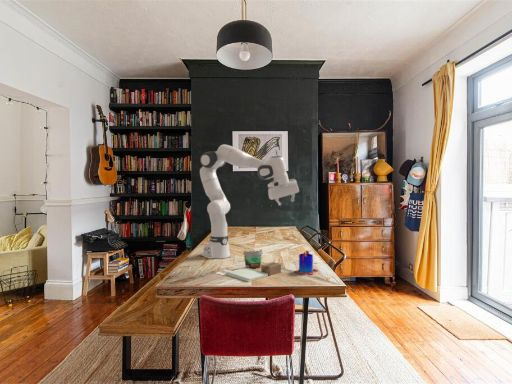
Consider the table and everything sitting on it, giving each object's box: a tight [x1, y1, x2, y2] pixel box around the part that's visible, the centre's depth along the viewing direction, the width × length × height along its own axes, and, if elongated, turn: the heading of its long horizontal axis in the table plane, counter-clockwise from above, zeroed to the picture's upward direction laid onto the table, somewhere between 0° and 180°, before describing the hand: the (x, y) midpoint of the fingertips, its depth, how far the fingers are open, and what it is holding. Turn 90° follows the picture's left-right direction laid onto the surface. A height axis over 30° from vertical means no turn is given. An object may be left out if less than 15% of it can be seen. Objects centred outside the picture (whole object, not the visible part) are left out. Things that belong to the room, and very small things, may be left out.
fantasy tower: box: [293, 250, 319, 276], centre depth 175 cm, size 12×12×12 cm
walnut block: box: [260, 261, 282, 277], centre depth 173 cm, size 6×9×5 cm
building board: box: [225, 266, 269, 283], centre depth 168 cm, size 18×14×2 cm
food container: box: [242, 249, 263, 270], centre depth 184 cm, size 12×6×10 cm, turn 117°
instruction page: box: [214, 269, 232, 276], centre depth 174 cm, size 6×9×1 cm, turn 144°
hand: (286, 203), depth 192 cm, fingers open, 8 cm apart
